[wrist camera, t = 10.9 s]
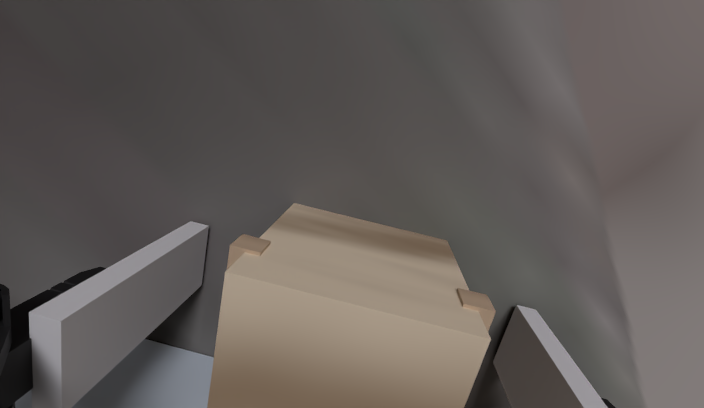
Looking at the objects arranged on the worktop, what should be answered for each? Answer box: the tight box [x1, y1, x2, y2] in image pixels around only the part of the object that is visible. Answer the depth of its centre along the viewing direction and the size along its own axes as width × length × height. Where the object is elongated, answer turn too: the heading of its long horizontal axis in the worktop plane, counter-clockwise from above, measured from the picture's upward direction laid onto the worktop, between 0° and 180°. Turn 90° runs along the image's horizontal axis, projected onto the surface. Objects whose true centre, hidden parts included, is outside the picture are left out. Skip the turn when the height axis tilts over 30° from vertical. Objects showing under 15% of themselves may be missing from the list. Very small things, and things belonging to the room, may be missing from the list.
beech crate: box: [207, 203, 496, 408], centre depth 11 cm, size 6×7×6 cm
